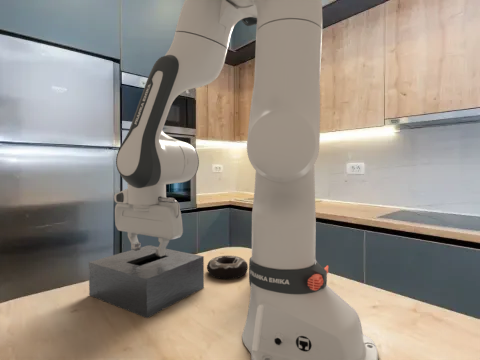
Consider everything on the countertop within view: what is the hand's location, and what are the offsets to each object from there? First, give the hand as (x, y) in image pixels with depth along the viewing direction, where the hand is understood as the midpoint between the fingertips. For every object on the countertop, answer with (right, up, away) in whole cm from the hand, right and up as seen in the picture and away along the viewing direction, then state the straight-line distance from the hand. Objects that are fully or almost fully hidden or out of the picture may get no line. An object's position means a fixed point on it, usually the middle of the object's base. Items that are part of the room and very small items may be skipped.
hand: (147, 252), depth 73 cm
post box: (0, -10, 0) cm, 10 cm away
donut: (+19, -10, +13) cm, 25 cm away
